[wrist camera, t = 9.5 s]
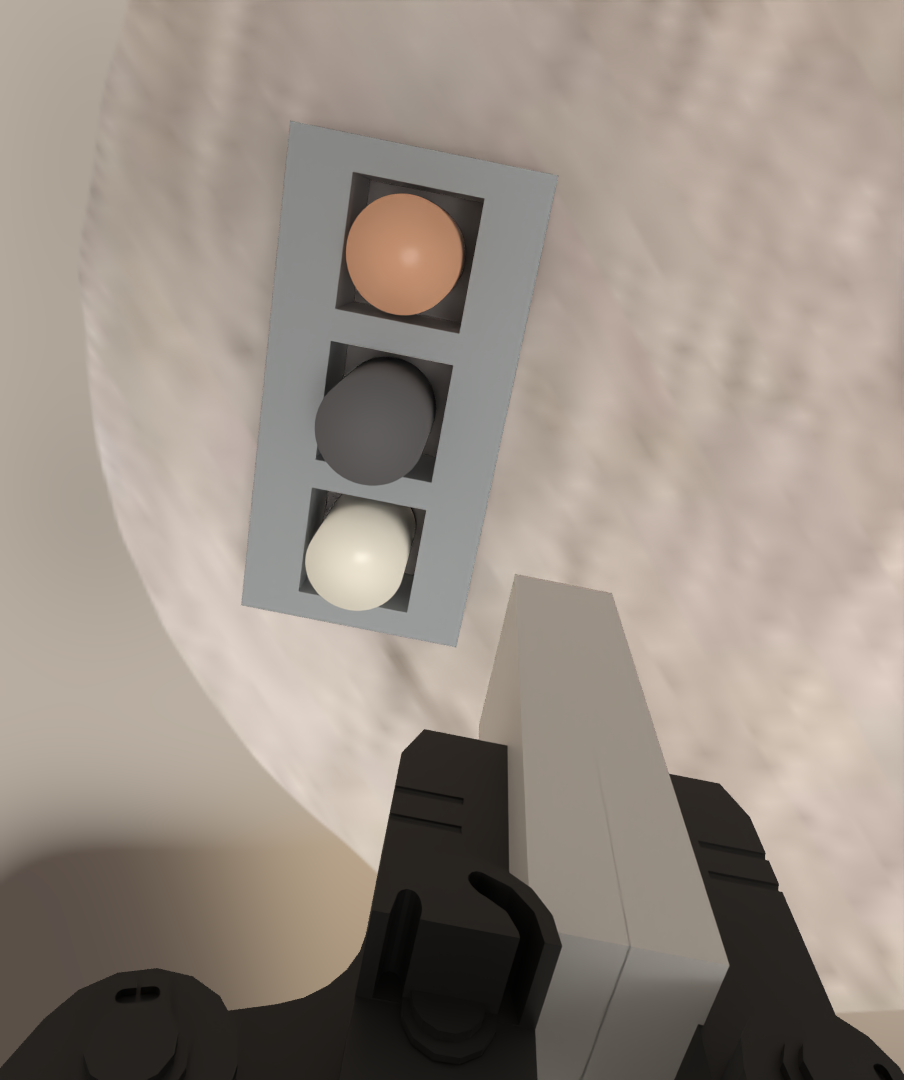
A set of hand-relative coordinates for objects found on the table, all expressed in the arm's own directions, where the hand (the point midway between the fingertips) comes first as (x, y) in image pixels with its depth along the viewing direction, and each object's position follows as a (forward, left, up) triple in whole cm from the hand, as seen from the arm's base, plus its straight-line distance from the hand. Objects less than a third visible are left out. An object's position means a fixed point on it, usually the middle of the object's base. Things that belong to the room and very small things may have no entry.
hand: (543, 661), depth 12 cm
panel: (+3, -6, -32) cm, 33 cm away
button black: (+3, -6, -29) cm, 30 cm away
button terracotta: (-4, -6, -31) cm, 32 cm away
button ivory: (+10, -6, -31) cm, 34 cm away
